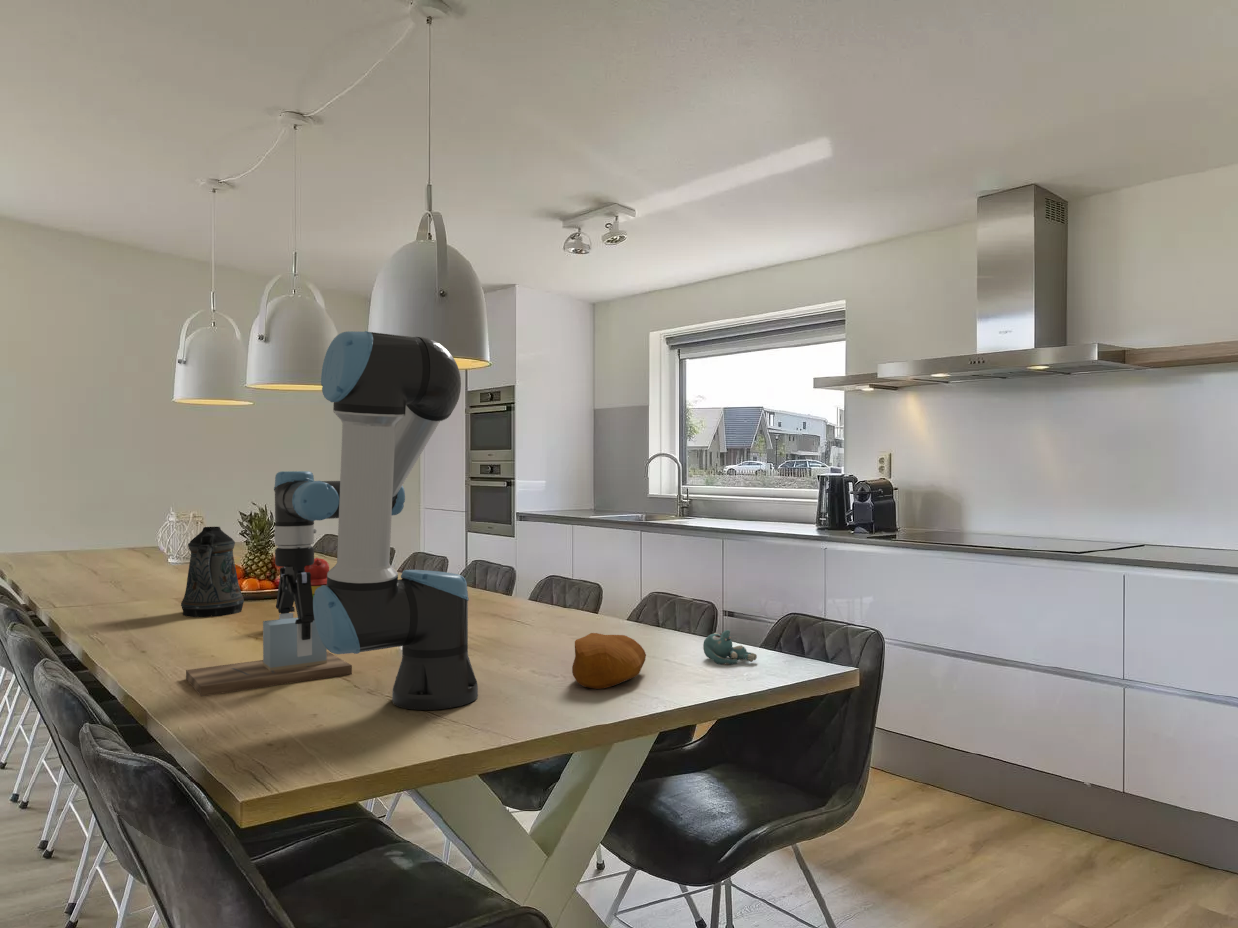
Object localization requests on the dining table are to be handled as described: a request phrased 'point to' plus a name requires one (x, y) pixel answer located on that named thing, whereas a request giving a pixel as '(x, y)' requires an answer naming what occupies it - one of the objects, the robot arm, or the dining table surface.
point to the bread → (606, 660)
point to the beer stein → (212, 576)
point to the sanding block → (289, 646)
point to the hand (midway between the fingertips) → (295, 649)
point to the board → (260, 675)
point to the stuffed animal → (725, 649)
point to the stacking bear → (318, 573)
